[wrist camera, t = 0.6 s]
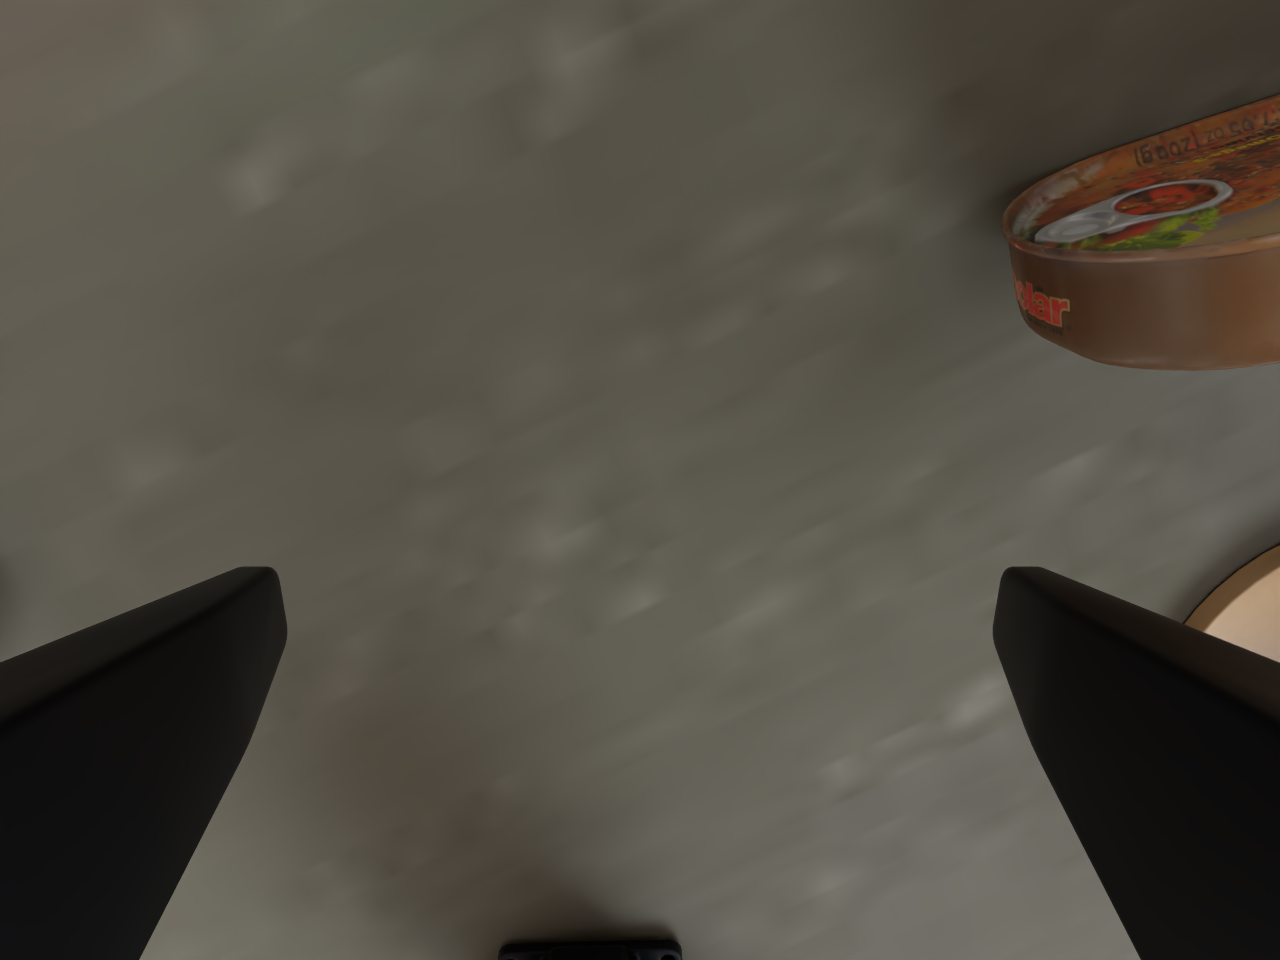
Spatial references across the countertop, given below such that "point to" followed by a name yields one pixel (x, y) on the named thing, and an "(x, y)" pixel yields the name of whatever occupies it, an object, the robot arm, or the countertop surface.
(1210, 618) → the wooden coaster
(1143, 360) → the tin
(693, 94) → the countertop surface
